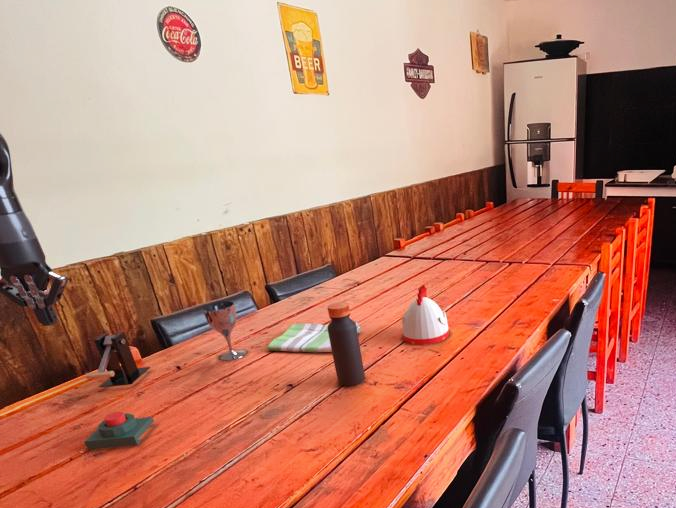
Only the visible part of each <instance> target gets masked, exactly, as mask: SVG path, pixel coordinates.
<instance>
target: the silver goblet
mask: <svg viewBox="0 0 676 508" xmlns="http://www.w3.org/2000/svg"><path fill="white" fill-rule="evenodd" d="M202 312H203V315H204V317H205V318H204V319H205V320H206V322H207V324H208V326H209V327H210V328H211V329H212V330H214V332H216V333H218V334H220V335H222V336H223V337H224V339H225V342H226V343H227V346H228V348H229V351H226V352H224V353H222V354H221V355H219V357H218V359H219V360H221V361H233V360H238V359H240V358H242V357H244V356H245V355H246V353H247V352H246V350H243V349H233V346H232V342H231V334H232V332H233V331H234V328H235V327H236V324H237V320H238V319H237V310H236V306H235V303H234V302H233V301H228V300H227V301H217V302H212V303H209V304H206V305H205V306H203V307H202Z"/></svg>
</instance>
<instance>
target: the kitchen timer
mask: <svg viewBox="0 0 676 508" xmlns="http://www.w3.org/2000/svg"><path fill="white" fill-rule="evenodd" d="M427 289H428V288H427V287H426V285H425V284H422V285H421V286H419V287H418V293H417V298H416V299H413V301H412V302H411V303H410V304H409V306H408V307H407V309H406V311H404V314H403V316H402V317H401V324H402V325H401V326H402V327H401V335H402V340H403V341H404V342H406V343H408V344H410V345H411V344H412V345H418V346H419V345H421V346H422V345H424V346H425V345H432V344H436V343H437V344H438V343H439V342H443V340H445V339H447V338H448V337H449V335H450V329H449V324H448V318H447V313H446V311H445V310H443V311H442V309H441V307H440V306H439V304H437V303H436V301H434V300H432V299H431V298H429V297H427V296H428V295H427V294H428V292H427V291H428V290H427Z"/></svg>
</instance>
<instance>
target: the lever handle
mask: <svg viewBox="0 0 676 508" xmlns="http://www.w3.org/2000/svg"><path fill="white" fill-rule="evenodd" d="M115 335H116V334H112V335H108V336H106V337H105V340H104V343H103V345H104V346H105V347H106V349H105V352H104V355H103V358H101V361H100V363H99V366H98V368H97V371H95V372H86V373H85V379H87V380H90V379H101V378H110V377H113V376H114V375H115V373H114V371H107V370H106V367H107V365H108V362H109V359H110V356H111V353H112V350H113V349H114V346H113V344H112V341H111V338H112V337H114V336H115ZM114 350H115V349H114Z"/></svg>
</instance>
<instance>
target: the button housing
mask: <svg viewBox="0 0 676 508" xmlns="http://www.w3.org/2000/svg"><path fill="white" fill-rule="evenodd" d="M124 415H125V417H126V421H125V422H124V423H122V424H120V425H117V426H114V427H107V425H106V423H105V421H104V420H102V421H101V422H100V423H99V424H98V425H97V428H96V429H95V431H93V432H92V433H91V434H90V435H89V436H88V437H87V438H86V439H85V440H84V441H83V443H84V445H85V447H86V449H87V450H88V451H93V450H102V449H112V448H122V447H130V446H131V447H132V446H139V444H140V443H141V442H142V441H143V440H144V439H142V438H141V437H142V436H143V434H145V432H146V431H147V430H148V429H149V428H150V427H151V425H152V424H153V423H154V421H155V420H154V418H153V416H146V417H145V416H144V417H136V416H135V415H134V414H133V413H124ZM150 431H151V430H150ZM150 431H149V432H150ZM149 432H148V433H149ZM140 438H141V439H140Z"/></svg>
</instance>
